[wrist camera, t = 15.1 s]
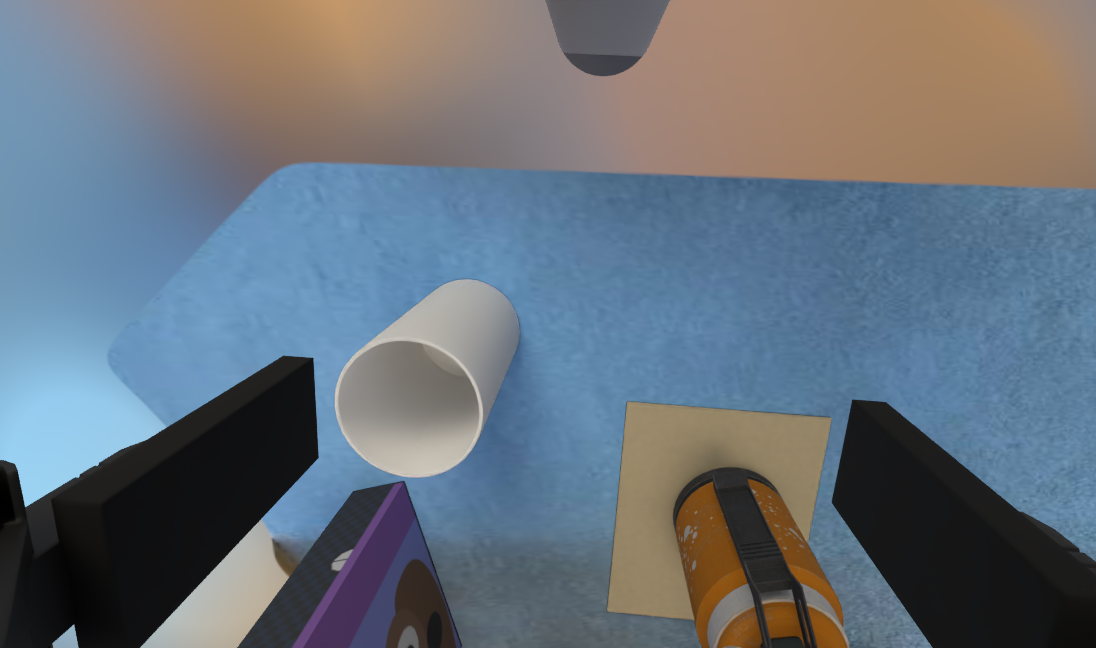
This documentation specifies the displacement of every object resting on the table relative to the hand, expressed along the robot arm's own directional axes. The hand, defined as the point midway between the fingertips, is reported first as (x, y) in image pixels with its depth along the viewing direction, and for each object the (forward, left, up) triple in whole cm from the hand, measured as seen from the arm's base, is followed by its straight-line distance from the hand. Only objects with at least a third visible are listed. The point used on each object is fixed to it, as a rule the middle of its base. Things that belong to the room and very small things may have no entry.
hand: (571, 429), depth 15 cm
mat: (+22, +12, -32) cm, 40 cm away
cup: (+7, -9, -32) cm, 34 cm away
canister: (+20, +13, -32) cm, 39 cm away
